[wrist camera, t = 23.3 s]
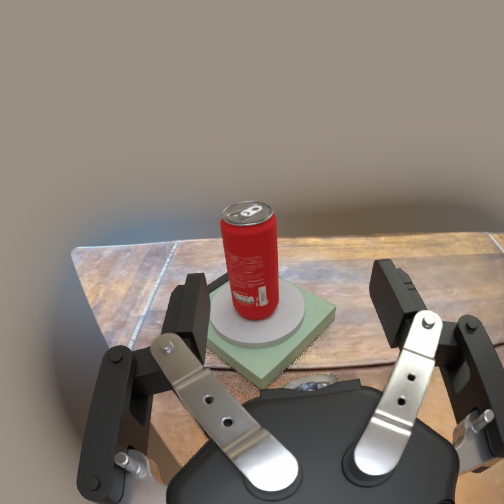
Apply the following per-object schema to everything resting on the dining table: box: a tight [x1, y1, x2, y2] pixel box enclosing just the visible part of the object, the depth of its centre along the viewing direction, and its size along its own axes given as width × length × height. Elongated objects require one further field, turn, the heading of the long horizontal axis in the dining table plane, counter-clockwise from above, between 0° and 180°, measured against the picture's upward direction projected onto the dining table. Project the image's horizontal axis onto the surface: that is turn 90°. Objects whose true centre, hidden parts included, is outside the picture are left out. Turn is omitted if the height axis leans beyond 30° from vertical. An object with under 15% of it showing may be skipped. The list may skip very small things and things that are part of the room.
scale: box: [206, 272, 336, 389], centre depth 36 cm, size 13×15×3 cm
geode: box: [284, 373, 338, 391], centre depth 27 cm, size 7×8×2 cm
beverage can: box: [220, 201, 279, 321], centre depth 31 cm, size 5×5×12 cm
